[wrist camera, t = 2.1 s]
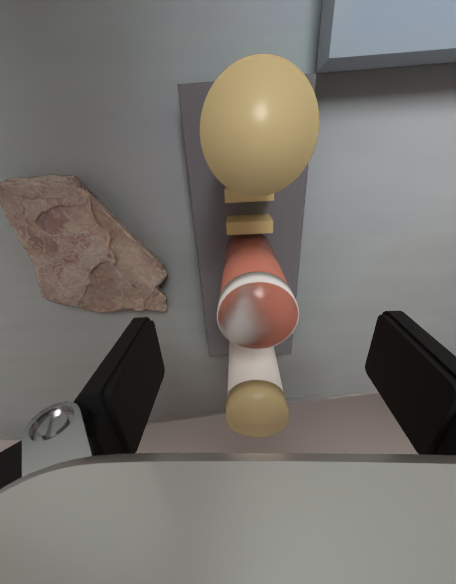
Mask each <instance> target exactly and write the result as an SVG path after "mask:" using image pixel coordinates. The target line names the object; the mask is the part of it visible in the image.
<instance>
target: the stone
mask: <svg viewBox="0 0 456 584" xmlns="http://www.w3.org/2000/svg"><path fill="white" fill-rule="evenodd" d="M0 202H1V205H2V207H3V209H4V212H5V215H6V218H7V219H8V220H9V222H10V225H11V227H13V229H14V230H15V232H16V234H17V237H18V239H19V241H20V242H21V243H22V245H23V246H24V248H25V249H26V251H27V252H28V254H29V257H30V259H31V260H32V261H33V262H34V263H33V266H34V268H35V273H36V277H37V279H38V281H39V284H40V287H41V292H40V293H41V295H42V297H44V298H45V299H47V300H48V301H51V302H55V303H59V304H65V305H71V306H79V307H81V308H83V309H85V310H89V311H97V312H100V313H102V312H106V311H109V312H114V311H118V310H122V309H133V310H134V311H142V310H145V309H147V310H152V311H161V312H163V311H166V310H167V308H168V306H167V302H166V295H165V294H164V292H163V291H162V290H161V289H160V288H159V285H160V284H161V282H163V280H164V279H165V277H166V276H167V275H168V274H167V269H166V268H165V266H164V265H163V264H162V263H161V261H160V260H159V259H158V258H157V257H156V256H155V255H154V254H153V253H152V252H151V251H150V250H149V249H148V248H147V247H146V246H145V245H144V244H143V243H142V242H141V241H140V240H139V239H137V238H136V237H135V236H134V235H133V234H132V233H131V232H130V231H129V230H128V229H127V228H126V227H125V226H124V225H123V224H122V223H121V222H120V221H119V220H118V219H117V218H116V217H115V216H114V215H113V214H112V213H111V212H110V210H109V209H108V208H107V207H106V206H105V205H104V204H103V203H102V202H101V201H100V200H99V199H98V198H97V197H96V196H94V195H93V194H92V193H91V192H90V191H89V189H88V188H87V187H86V186H85V185H84V184H83V183H82V182H80V180H79V179H78V178H77V177H76V176H59V175H47V176H36V177H29V178H14V179H9V180H5V181H4V182H1V183H0Z"/></svg>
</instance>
